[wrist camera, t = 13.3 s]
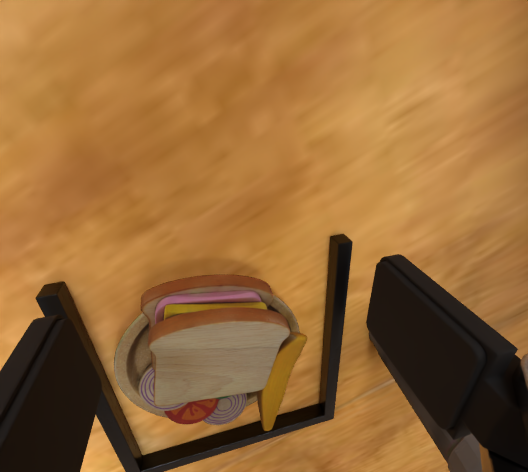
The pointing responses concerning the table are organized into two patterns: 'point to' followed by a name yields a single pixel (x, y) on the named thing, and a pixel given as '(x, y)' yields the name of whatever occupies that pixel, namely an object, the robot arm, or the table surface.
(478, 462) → the beverage cup
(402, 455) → the table surface
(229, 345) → the toy sandwich meal
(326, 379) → the frame
